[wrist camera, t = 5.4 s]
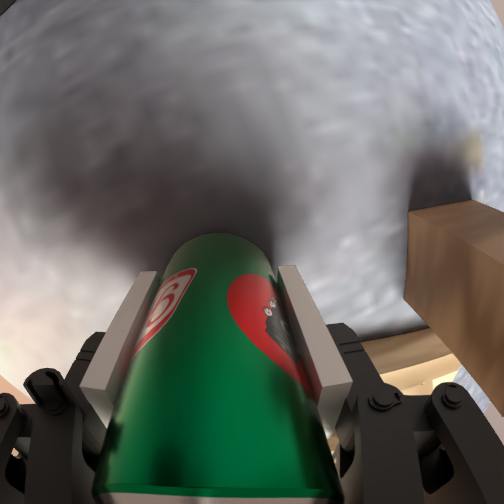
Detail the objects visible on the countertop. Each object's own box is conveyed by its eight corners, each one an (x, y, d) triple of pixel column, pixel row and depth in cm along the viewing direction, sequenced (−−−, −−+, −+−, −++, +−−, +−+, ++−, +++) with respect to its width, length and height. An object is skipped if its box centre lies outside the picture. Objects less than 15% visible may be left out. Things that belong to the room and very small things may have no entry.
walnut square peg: (407, 211, 13) (562, 307, 4) (472, 199, 13) (598, 263, 4) (403, 299, 15) (502, 417, 6) (463, 277, 15) (559, 361, 6)
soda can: (181, 215, 12) (48, 517, 1) (286, 246, 13) (417, 517, 2) (159, 307, 14) (100, 546, 3) (252, 330, 15) (287, 562, 4)
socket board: (260, 353, 16) (266, 392, 13) (447, 323, 17) (469, 346, 14) (258, 477, 23) (261, 499, 20) (376, 454, 24) (384, 473, 21)
